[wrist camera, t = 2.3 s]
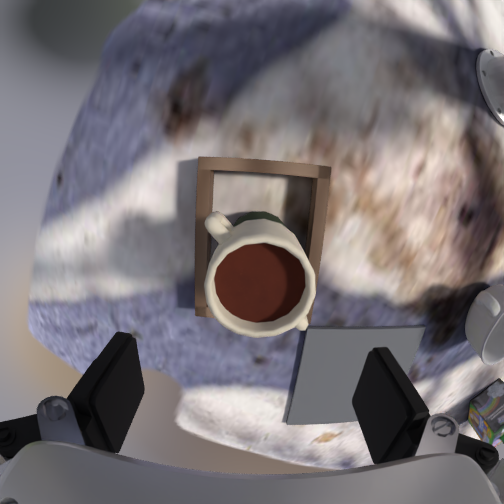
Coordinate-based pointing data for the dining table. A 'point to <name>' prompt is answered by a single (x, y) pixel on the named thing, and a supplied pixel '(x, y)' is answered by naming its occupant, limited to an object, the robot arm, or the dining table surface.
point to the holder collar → (263, 166)
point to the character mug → (258, 276)
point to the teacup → (487, 325)
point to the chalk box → (489, 414)
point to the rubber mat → (342, 368)
